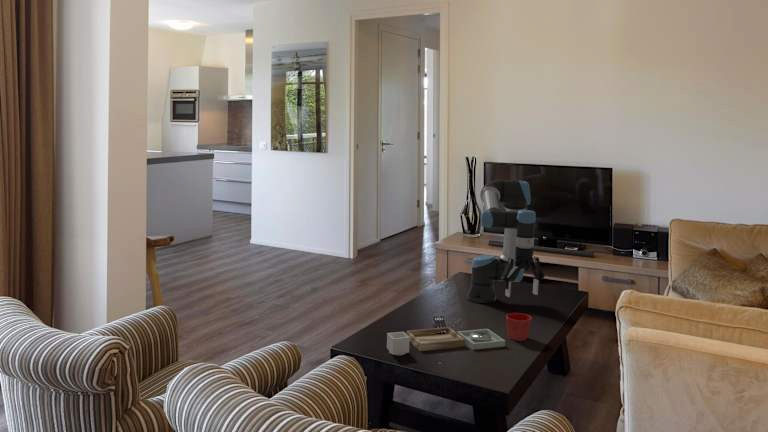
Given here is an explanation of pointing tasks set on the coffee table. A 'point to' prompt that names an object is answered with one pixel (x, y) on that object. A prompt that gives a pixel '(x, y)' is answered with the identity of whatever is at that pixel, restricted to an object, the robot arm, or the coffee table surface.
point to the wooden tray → (435, 339)
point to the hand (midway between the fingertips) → (521, 295)
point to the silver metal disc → (480, 336)
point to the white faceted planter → (398, 343)
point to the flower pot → (518, 326)
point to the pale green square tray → (476, 344)
